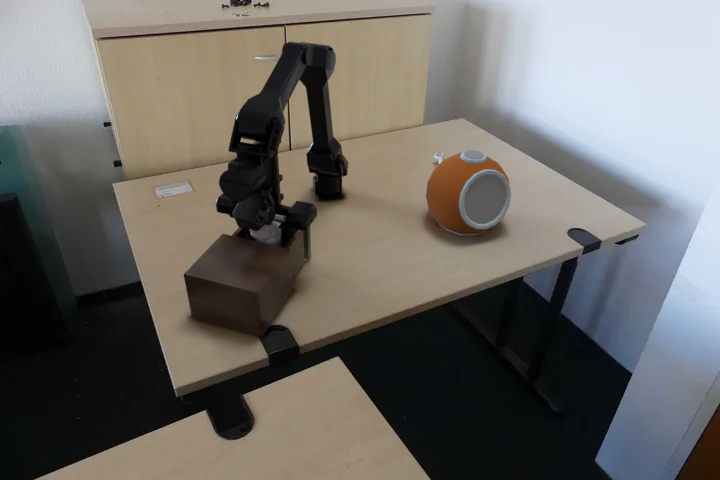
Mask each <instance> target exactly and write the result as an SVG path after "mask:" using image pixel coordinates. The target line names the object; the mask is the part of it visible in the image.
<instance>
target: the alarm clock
mask: <svg viewBox="0 0 720 480" xmlns="http://www.w3.org/2000/svg"><path fill="white" fill-rule="evenodd" d="M511 197H512V192H511V186H510V179H509V177H508V176H507V173H506V172H505V171H504V169H503V167H502V166H501V165H500V163H499V162H498V161H496V160H494V159H493V158H491V157H490V156H487V155H486V153H484V152H483V151H480V150H478V149H477V150H476V149H466V150H463V151H462V152H458V153H455V154H453V155H451V156H447V157H446V158H444V160H443V161H442V162H441V163H440V164H439V163H438V165H437V166H436V167H434V169H433V170H432V172H431V174H430V177H429V178H428V180H427V182H426V191H425V198H426V203H427V208H428V211H429V213H430V214H431V216H432V217H433V219H434V220H435V221H436V223H437V224H438V225H439V226H440V227H442V228H443V229H444V230H446V231H447V232H450V233H452V234H455V235H458V236H478V235H481V234H482V233H484V232H486V231H488V230H490V229H493V228H494V227H495V226H497V224H498V223H499V222H500V221H502V219H503V218H504V217H505V216H506V214H507V212H508V210H509V208H510V204H511Z"/></svg>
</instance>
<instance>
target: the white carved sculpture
mask: <svg viewBox="0 0 720 480" xmlns="http://www.w3.org/2000/svg"><path fill="white" fill-rule="evenodd" d="M279 225H280V223H278V222H275V221H273V222H272V224H271V225H264V227H262V228H261V229H260V230H259V231H253V230H251V229H250V231H251V236H252V237H253V238H254V239H255V240H256V241H257V242H261V243H266V244H270V245H275V246H279V247H280V245H281V229H280V228H278V227H279Z"/></svg>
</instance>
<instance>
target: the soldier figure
mask: <svg viewBox="0 0 720 480" xmlns="http://www.w3.org/2000/svg"><path fill="white" fill-rule="evenodd" d="M439 154H440V153H439V152H438V151H437V152H435V154H434V155H433V156H432V159H435V160H436V161H437V163H438V165H439V164H440V163H441V162H442V161H443V160H444V159H445V152H441V156H439Z"/></svg>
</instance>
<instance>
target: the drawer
mask: <svg viewBox="0 0 720 480" xmlns="http://www.w3.org/2000/svg"><path fill="white" fill-rule="evenodd" d="M283 220H284V219H283V216H281V215H277V214H276V215H275V218H274V220H273V221H275V222H278V223H280V224H281V223H282V222H283ZM231 236H235V237H240V238H244V239H248V240H251V239H250V237H249V235H248V233H247V231H246V230H245V228H240V227H237V229H236V230H235V231H234V232H233V233H232V234H231ZM311 240H312V239H311V225H310V226H309V227H308V229H307V230H303V231H302V230H297V229H294V230H292V233H291V235H290V238H289V240H288V243H287V245H286V246H285V248H288V249H291V262H292V280H293V279H294V278H295V276H296V275H297V274H298V272H299V270H300V269H301V267H302V266H303V265H304V264H305V260H307V261H309V260H310V258H312V241H311ZM280 247H282V245H280Z"/></svg>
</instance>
